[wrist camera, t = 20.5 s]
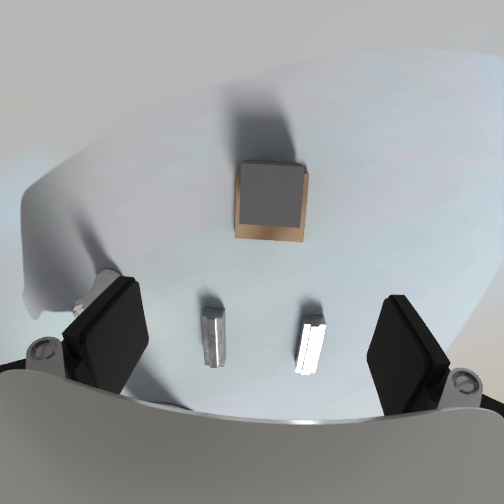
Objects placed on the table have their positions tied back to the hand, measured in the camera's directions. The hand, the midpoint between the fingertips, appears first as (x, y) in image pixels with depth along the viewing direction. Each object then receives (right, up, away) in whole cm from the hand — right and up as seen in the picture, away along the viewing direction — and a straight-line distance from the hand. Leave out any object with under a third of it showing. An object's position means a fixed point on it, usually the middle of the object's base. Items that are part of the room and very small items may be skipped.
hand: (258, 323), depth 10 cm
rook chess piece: (-19, -1, +24) cm, 30 cm away
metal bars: (+1, -8, +25) cm, 26 cm away
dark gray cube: (+2, +9, +17) cm, 19 cm away
